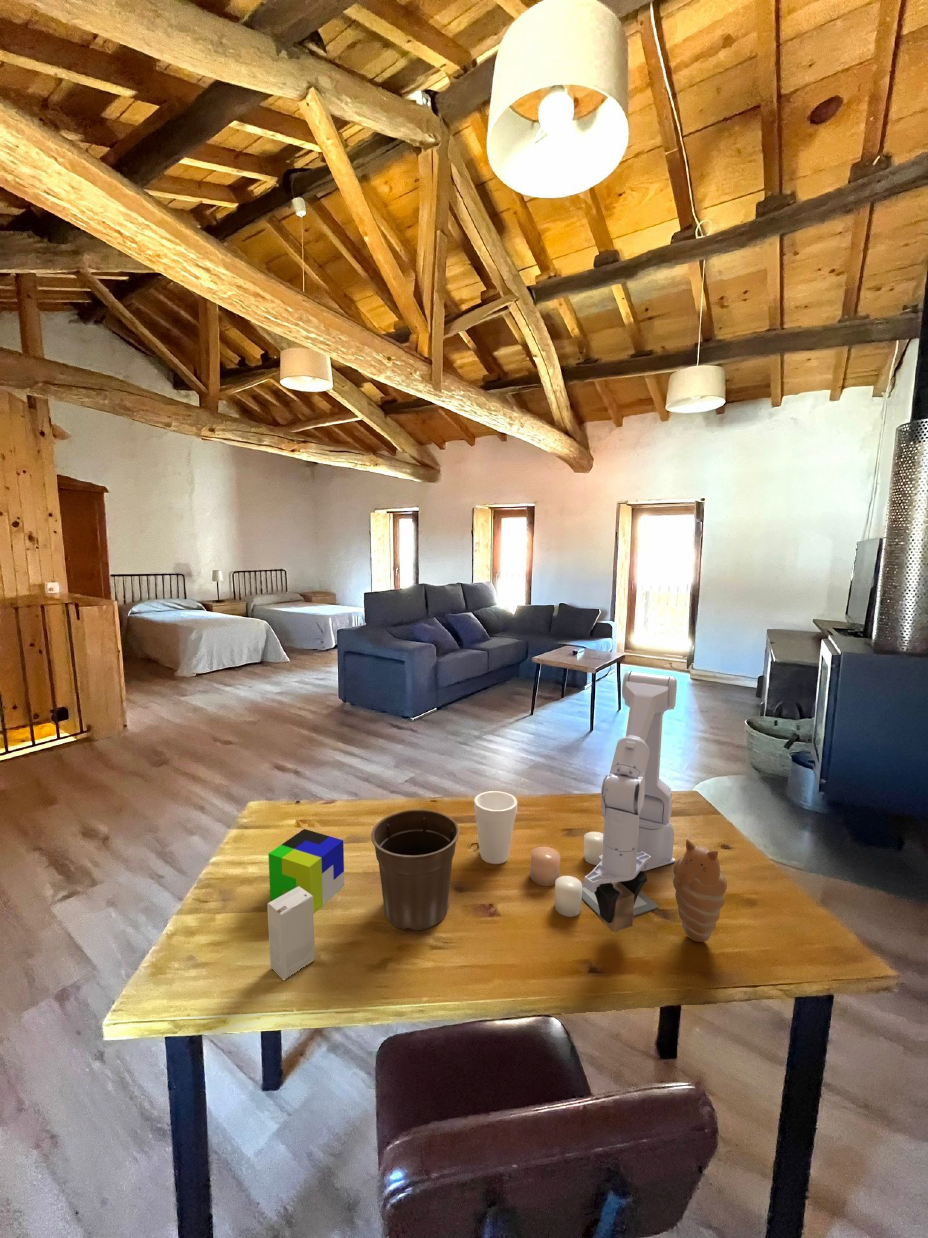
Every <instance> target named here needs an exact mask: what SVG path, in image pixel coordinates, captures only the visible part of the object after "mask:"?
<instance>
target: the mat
mask: <svg viewBox="0 0 928 1238" xmlns="http://www.w3.org/2000/svg"><path fill="white" fill-rule="evenodd" d="M581 883H582V901H584V903H586V905H587V906H589V907H590V909H591V910H592V911H593V912H595V913H596V915H598V917H600V910H599V906H598V902H597V899H596V896H595V894H594V892H593V893H592V892H590V891H589V890H588V889H586V888H585V887H584V881H582V882H581ZM613 883H615V882H613ZM659 908H660V906H659V905H658V904H656V903H655V902H654V901H653V900H652V899H651V898H650V897H648V896H647V895H646V894H644V892H642V890H640V892H639V894H638V896H637V899H636V901H635V904H634V910H633V918H635V917H637V916H639V915H642V914H645V913H648V912H651V911H654V910H657V909H659Z"/></svg>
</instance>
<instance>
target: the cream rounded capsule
mask: <svg viewBox="0 0 928 1238" xmlns="http://www.w3.org/2000/svg"><path fill="white" fill-rule="evenodd" d="M554 888H555V889H554V890H555V891H554V909H555V911H556V912H557V913H559V914H560V915H562V916H564V917H569V918H572V917H576V916H579V915H580V914H581V912H582V904H583V903H582V902H583V899H582V882H581V880H580V879H578V878H577V877H575V876H571V875H562V876H559V878H557V880H556V882H555V885H554Z"/></svg>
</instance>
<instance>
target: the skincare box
mask: <svg viewBox="0 0 928 1238" xmlns="http://www.w3.org/2000/svg"><path fill="white" fill-rule="evenodd" d="M266 906H267V909H266V910H267V925H268V946H269V962H270V963H269V964H270V969H271V970H272V969H273V970H274V971H275V972H276V973H277V974H278V975H279V976H280V977H281V978H282V979H286V978H288V977H289V976H290V977H292V976H293V975H295V974H296V973H298V972H299V971H300V969H301V968H302V969H304V968H305V967H306V965H307V966H308V965H309V964H311V963H312V962H313V961H315V960H316V949H315V948H316V947H315V944H316V943H315V920H314V919H315V917H314V915H315V913H314V914H313V896H312V895H311V894H309V893H308V892H307V891H305V890H304V889H302V888H301V887H299V886H298V887H296V888H295V889H293V890H291V891H289V892H287V893H286V894H284V895H282V896H280V897H278V898H277V899H275V900H273V901H269V902H267V905H266ZM303 967H304V968H303ZM302 969H301V970H302ZM273 970H272V971H273ZM274 971H273V972H274ZM297 971H298V972H297ZM275 972H274V973H275ZM276 973H275V974H276ZM294 973H295V974H294ZM277 974H276V975H277ZM292 974H293V975H292ZM278 975H277V976H278ZM291 975H292V976H291ZM279 976H278V977H279ZM280 977H279V978H280ZM290 977H289V978H290ZM281 978H280V979H281ZM289 978H288V979H289ZM282 979H281V980H282ZM286 980H287V979H286Z"/></svg>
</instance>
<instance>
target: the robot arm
mask: <svg viewBox="0 0 928 1238" xmlns="http://www.w3.org/2000/svg"><path fill="white" fill-rule="evenodd" d="M677 683H678V682H677V678H676V677H675V676H674V675H670V676H669V675H661V674H653V673H644V672H636V671H632V670H627V672H626V673H625V674H624V675H623V679H622V684H621V685H622V686H621V695H622V698H623V700H624V704H625V706H627V707H628V708H629V712H628V719H627V725H626V732H625V736H624V737H622V738H621V739H619V740H618V741H617V743H616V748H615V752H614V755H613V759H612V763H611V766H610V767H611V768H610V771H609V775H608V774H605V775H604V777H603V781H602V782H601V783H602V784H601V788H600V789H601V790H600V804H601V815H602V817H603V832H602V833H603V853H602V855H601V856H599V861H600V863H599V864H598V865H595V867H593V869H592V871H590V872H589V873H588V874H587V875H584V877H583V878H584V879H583V882H584V887H585V888H586V889H588V890H589V891H590V892H592V893H593V892H594V894H595V896H596V899H597V902H598V906H599V910H600V915H601V918H603V919H604V920H605V921H606V922H608V923H611V922H612V920H613V916H614V909H615V904H616V901H617V898H618V896H619V895H620V892H619V891H618V890H616V889H615V888H613V884H612V883H613V882H620V883H622V884H623V885H624V886H625V887H626V888H627V889H629V890H630V891H631V892H632V893H633V894H634V904H635V901H636V899H637V896H638V894H639V892H640V891H642V888H643V887H644V886H645V885H646V883H647V882H648V875H647V874H646V873H644V872H646V871H649V870H652V869H656V868H659V867H662V866H666V865H669V864H674V863H675V862H676V859H675V858H674V857H673V856H674V855H673V853H674V843H675V842H674V841H675V840H674V839H675V830H674V828H673V827H674V826H673V823H671V817H672V810H673V798H672V796H673V795H672V794H673V791H672V788H671V787H670V785H668V784H667V783H665V781H663V780H661V778H660V768H661V767H660V766H661V749H662V735H663V734H662V732H663V717H664V714H665V713H666V711H668V710H670V711H671V710H675V707H676V701H677V690H678V689H677V686H678V684H677Z"/></svg>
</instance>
